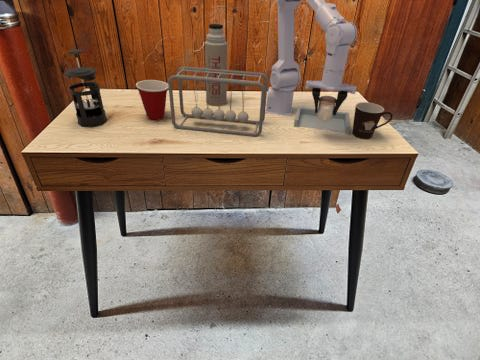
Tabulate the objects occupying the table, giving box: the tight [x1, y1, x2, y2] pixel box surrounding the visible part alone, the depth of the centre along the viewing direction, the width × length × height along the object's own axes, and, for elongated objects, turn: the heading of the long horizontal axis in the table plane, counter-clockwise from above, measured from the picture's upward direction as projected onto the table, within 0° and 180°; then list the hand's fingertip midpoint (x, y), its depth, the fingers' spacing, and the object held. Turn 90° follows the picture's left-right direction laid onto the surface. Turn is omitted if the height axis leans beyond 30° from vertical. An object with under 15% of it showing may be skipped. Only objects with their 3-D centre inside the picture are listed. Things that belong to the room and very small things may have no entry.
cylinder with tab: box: [317, 95, 337, 121], centre depth 99 cm, size 5×7×6 cm
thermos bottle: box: [204, 23, 228, 107], centre depth 118 cm, size 8×8×28 cm
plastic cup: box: [135, 79, 169, 122], centre depth 109 cm, size 11×11×12 cm
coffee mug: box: [351, 101, 393, 140], centre depth 103 cm, size 12×9×10 cm
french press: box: [64, 49, 108, 128], centre depth 102 cm, size 12×9×23 cm
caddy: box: [293, 106, 351, 135], centre depth 112 cm, size 18×13×3 cm
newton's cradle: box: [167, 66, 269, 137], centre depth 104 cm, size 30×10×18 cm, turn 81°
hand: (325, 113), depth 100 cm, fingers closed on cylinder with tab, 5 cm apart
